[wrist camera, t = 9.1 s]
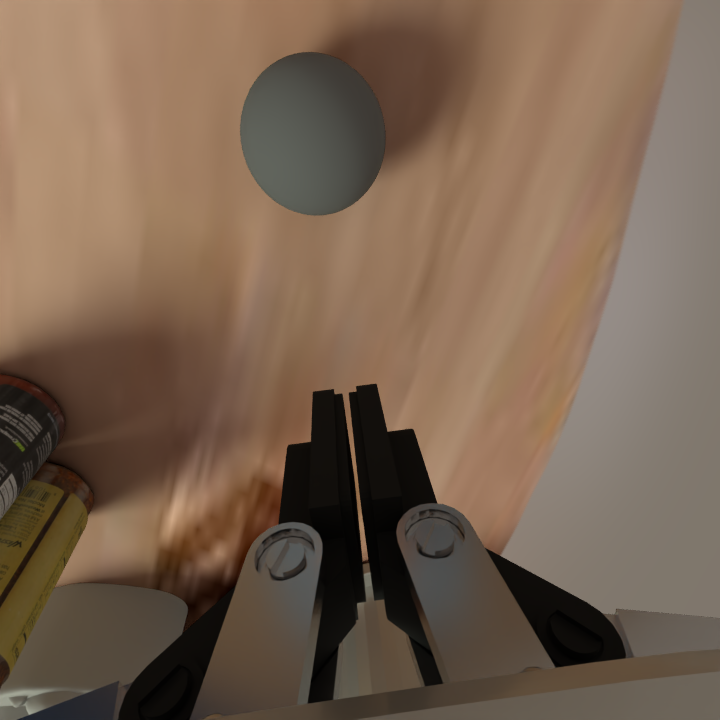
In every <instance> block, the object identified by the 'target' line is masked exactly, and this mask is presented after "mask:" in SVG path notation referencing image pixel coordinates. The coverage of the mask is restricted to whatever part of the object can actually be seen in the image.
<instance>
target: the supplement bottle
mask: <svg viewBox="0 0 720 720" xmlns="http://www.w3.org/2000/svg"><path fill="white" fill-rule="evenodd" d="M64 430H65V419H64V416H63V414H62V411H61V410H60V408H59V406H58V405H57V403H56V402H55V401H54V400H53V399H52V398H51V397H50V396H49V395H48V394H47V393H45V392H44V391H43V390H42V389H40V388H39V387H37V386H36V385H33V384H31V383H30V382H27V381H25V380H22V379H19V378H16V377H12V376H7V375H1V374H0V520H1V518H2V517H3V516H4V514H5V513H6V512H7V510H8V509H9V508H10V507H11V505H12V504H13V503H14V501H15V500H16V499H17V497H18V496H19V495H20V493H21V492H22V491H23V489H24V488H25V487H26V486H27V484H28V483H29V482H30V480H31V479H32V478H33V477H34V475H35V474H36V473H37V471H38V470H39V469H40V467H41V466H42V465H43V463H44V462H45V461H46V459H47V458H48V457H49V456H50V454H51V453H52V452H53V451H54V449H55V448H56V446H57V444H58V443H59V442H60V440H61V438H62V437H63V434H64Z"/></svg>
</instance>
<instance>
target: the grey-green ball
mask: <svg viewBox="0 0 720 720" xmlns="http://www.w3.org/2000/svg"><path fill="white" fill-rule="evenodd" d="M240 136H241V144H242V150H243V154H244V157H245V160H246V163H247V165H248V168H249V170H250V172H251V174H252V176H253V177H254V179H255V180H256V182H257V183H258V185H259V186H260V187H261V188H262V190H263V191H264V192H265V193H266V194H267V195H268V196H269V197H271V198H272V199H273V200H274V201H275V202H277V203H278V204H280V205H282V206H283V207H285V208H287V209H289V210H292V211H294V212H298V213H301V214H306V215H327V214H332V213H336V212H339V211H341V210H343V209H345V208H347V207H349V206H351V205H352V204H354V203H355V202H356V201H358V200H359V199H360V198H361V197H362V196H363V195H364V194H365V193H366V192H367V191H368V189H369V188H370V187H371V185H372V184H373V182H374V180H375V179H376V177H377V175H378V172H379V170H380V167H381V164H382V161H383V156H384V151H385V125H384V119H383V115H382V111H381V108H380V105H379V103H378V100H377V98H376V96H375V94H374V93H373V91H372V89H371V87H370V86H369V85H368V84H367V82H366V81H365V80H364V78H363V77H362V76H361V75H360V74H359V73H358V72H357V71H356V70H355V69H353V68H352V67H351V66H349V65H348V64H346V63H345V62H343V61H341V60H339V59H338V58H335V57H332V56H329V55H326V54H321V53H314V52H302V53H297V54H292V55H289V56H286V57H284V58H282V59H280V60H278V61H276V62H275V63H273V64H272V65H270V66H269V67H268V68H267V69H265V70H264V71H263V72H262V73H261V75H260V76H259V77H258V78H257V79H256V81H255V82H254V84H253V85H252V87H251V88H250V91H249V93H248V95H247V98H246V100H245V102H244V106H243V110H242V115H241V124H240Z"/></svg>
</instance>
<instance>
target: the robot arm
mask: <svg viewBox="0 0 720 720" xmlns="http://www.w3.org/2000/svg"><path fill="white" fill-rule="evenodd" d="M356 389H357V392H350V393H349V400H350V409H351V418H352V427H353V437H354V446H355V455H356V464H357V474H358V483H359V492H360V500H361V508H362V516H363V523H364V530H365V538H366V545H367V552H368V559H369V563H366V564H363V561H362V551H361V541H360V530H359V520H358V510H357V500H356V489H355V480H354V472H353V465H352V458H351V451H350V444H349V437H348V430H347V423H346V416H345V408H344V401H343V395H342V394H335V393H334V389H331V390H323V391H315V392H313V402H312V430H311V442H307V443H299V444H292V445H288V447H287V454H286V462H285V471H284V480H283V489H282V498H281V507H280V515H279V524H278V525H277V526H274V527H272V528H270V529H268V530H267V531H265V532H264V533H262V534H261V535H260V536H259V537H258V538H257V539H256V540H255V541H254V542H253V544H252V546H251V548H250V549H249V551H248V553H247V556H246V559H245V562H244V565H243V568H242V571H241V573H240V576H239V579H238V582H237V585H236V586H235V587H234V588H233V589H231V590H230V591H229V592H228V593H227V594H226V595H225V596H224V597H223V598H221V599H220V600H219V601H218V602H217V603H216V604H215V605H214V606H213V607H212V608H210V609H209V610H208V611H207V612H206V613H205V614H204V615H203V616H202V617H201V618H199V619H198V620H197V621H196V622H195V623H194V624H193V625H192V626H191V627H189V628H188V629H187V630H186V631H185V632H184V633H183V634H182V635H181V636H180V637H178V638H177V639H176V640H175V641H174V642H173V643H172V644H171V645H170V646H168V647H167V648H166V649H165V650H164V651H163V652H162V653H161V654H160V655H159V656H157V657H156V658H155V659H154V660H153V661H152V662H151V663H150V664H149V665H147V667H146V668H145V669H144V670H143V671H142V672H141V673H140V674H139V675H138V676H137V677H136V679H135V680H134V681H133V682H131V683H129V684H126V685H124V686H123V685H122V684H121V682H120V681H117V682H114V683H111V684H109V685H106V686H104V687H101V688H98V689H96V690H93V691H90V692H88V693H85V694H83V695H80V696H77V697H75V698H72V699H70V700H67V701H64V702H62V703H59V704H56V705H54V706H51V707H49V708H46V709H43V710H41V711H38V712H36V713H33V714H30V715H28V716H25V717H22V718H20V719H17V720H720V618H713V617H702V616H690V615H680V614H669V613H658V612H647V611H636V610H624V609H616V612H615V615H613V614H612V615H611V614H602V613H601V612H600V611H599V610H597V609H596V608H594V607H593V606H591V605H590V604H588V603H587V602H585V601H583V600H581V599H579V598H578V597H576V596H574V595H572V594H570V593H568V592H566V591H564V590H563V589H561V588H559V587H557V586H555V585H553V584H551V583H549V582H548V581H546V580H544V579H542V578H540V577H538V576H536V575H535V574H533V573H531V572H529V571H527V570H525V569H524V568H522V567H519V566H518V565H516V564H514V563H512V562H510V561H509V560H507V559H505V558H503V557H501V556H499V555H497V554H496V553H494V552H492V551H490V550H488V549H486V548H485V547H484V546H483V544H482V542H481V541H480V539H479V537H478V536H477V534H476V532H475V530H474V529H473V527H472V525H471V524H470V522H469V521H468V520H467V519H466V517H465V516H464V515H463V514H462V513H460V512H459V511H457V510H456V509H454V508H452V507H449V506H447V505H444V504H437V501H436V498H435V495H434V492H433V488H432V485H431V482H430V479H429V476H428V473H427V470H426V467H425V463H424V460H423V457H422V454H421V451H420V448H419V445H418V442H417V438H416V435H415V432H414V430H413V429H405V430H398V431H390V432H387V428H386V423H385V419H384V414H383V410H382V406H381V401H380V397H379V392H378V388H377V384H370V385H362V386H356Z"/></svg>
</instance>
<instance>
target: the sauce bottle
mask: <svg viewBox="0 0 720 720" xmlns="http://www.w3.org/2000/svg"><path fill="white" fill-rule="evenodd" d="M93 502H94V495H93V493H92V492H91V490H90V488H89V487H88V485H87V484H86V483H85V482H84V481H83V480H82V479H81V478H80V477H79V476H78V475H77V474H76V473H74V472H73V471H70V470H68V469H66V468H64V467H63V466H58V465H55V464H51V463H49V462H44V463H43V465H42V466H41V467H40V469H39V470H38V471H37V473H36V474H35V475H34V477H33V478H32V479H31V480H30V482H29V483H28V484H27V486H26V487H25V488H24V489H23V491H22V492H21V493H20V495H19V496H18V497H17V499H16V500H15V501H14V503H13V504H12V505H11V507H10V508H9V509H8V510H7V512H6V513H5V514H4V516H3V517H2V518H1V520H0V689H1V686H2V684H4V683H5V681H6V680H7V679H8V678H9V676H10V674H11V672H12V670H13V668H14V666H15V664H16V662H17V660H18V658H19V656H20V654H21V652H22V650H23V648H24V646H25V644H26V642H27V640H28V638H29V636H30V634H31V632H32V630H33V628H34V626H35V624H36V622H37V620H38V619H39V617H40V615H41V613H42V611H43V609H44V607H45V605H46V603H47V601H48V599H49V597H50V595H51V593H52V591H53V589H54V587H55V585H56V583H57V581H58V580H59V578H60V576H61V574H62V572H63V570H64V568H65V566H66V564H67V562H68V560H69V558H70V556H71V554H72V552H73V550H74V548H75V546H76V545H77V543H78V541H79V539H80V537H81V535H82V533H83V531H84V529H85V527H86V524H87V520H88V515H89V513H90V511H91V508H92V505H93Z"/></svg>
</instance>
